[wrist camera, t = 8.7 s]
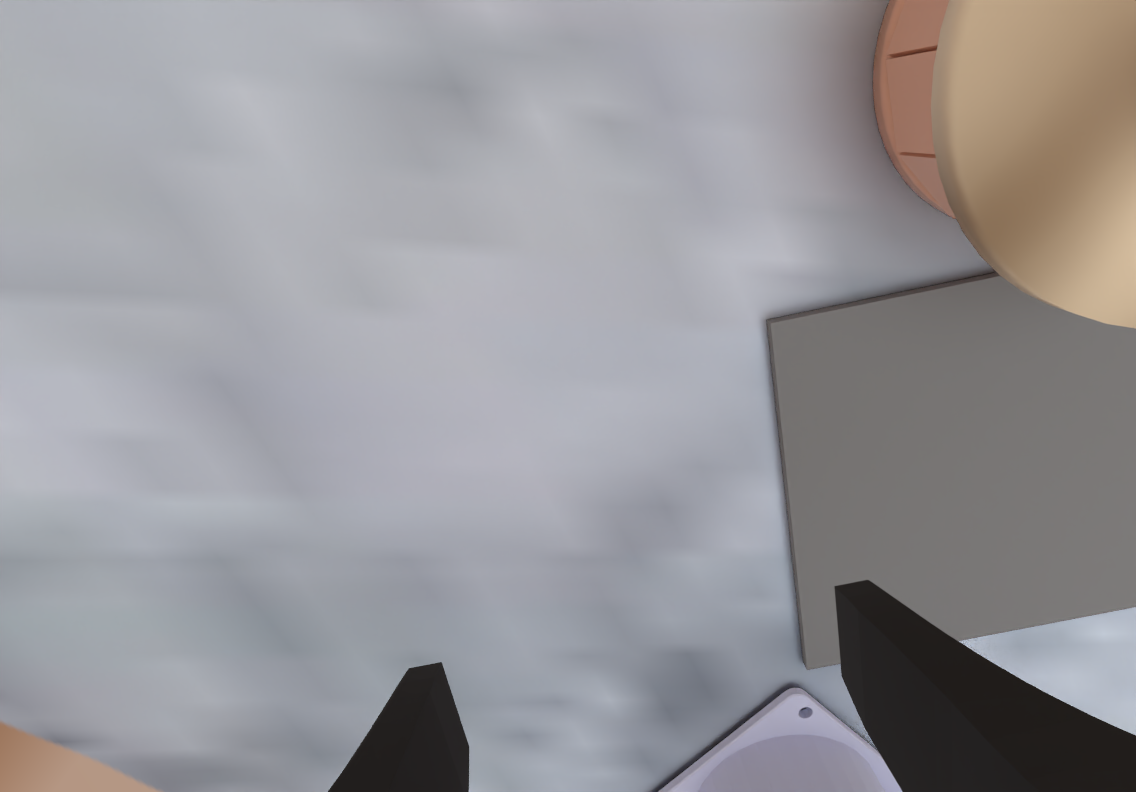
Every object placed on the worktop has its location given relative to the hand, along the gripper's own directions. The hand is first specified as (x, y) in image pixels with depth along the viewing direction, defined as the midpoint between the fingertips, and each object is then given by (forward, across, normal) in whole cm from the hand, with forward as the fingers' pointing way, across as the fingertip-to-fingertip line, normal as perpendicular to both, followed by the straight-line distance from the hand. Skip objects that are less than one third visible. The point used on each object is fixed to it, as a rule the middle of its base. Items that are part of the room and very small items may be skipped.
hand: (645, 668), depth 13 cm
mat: (+10, -14, +4) cm, 18 cm away
